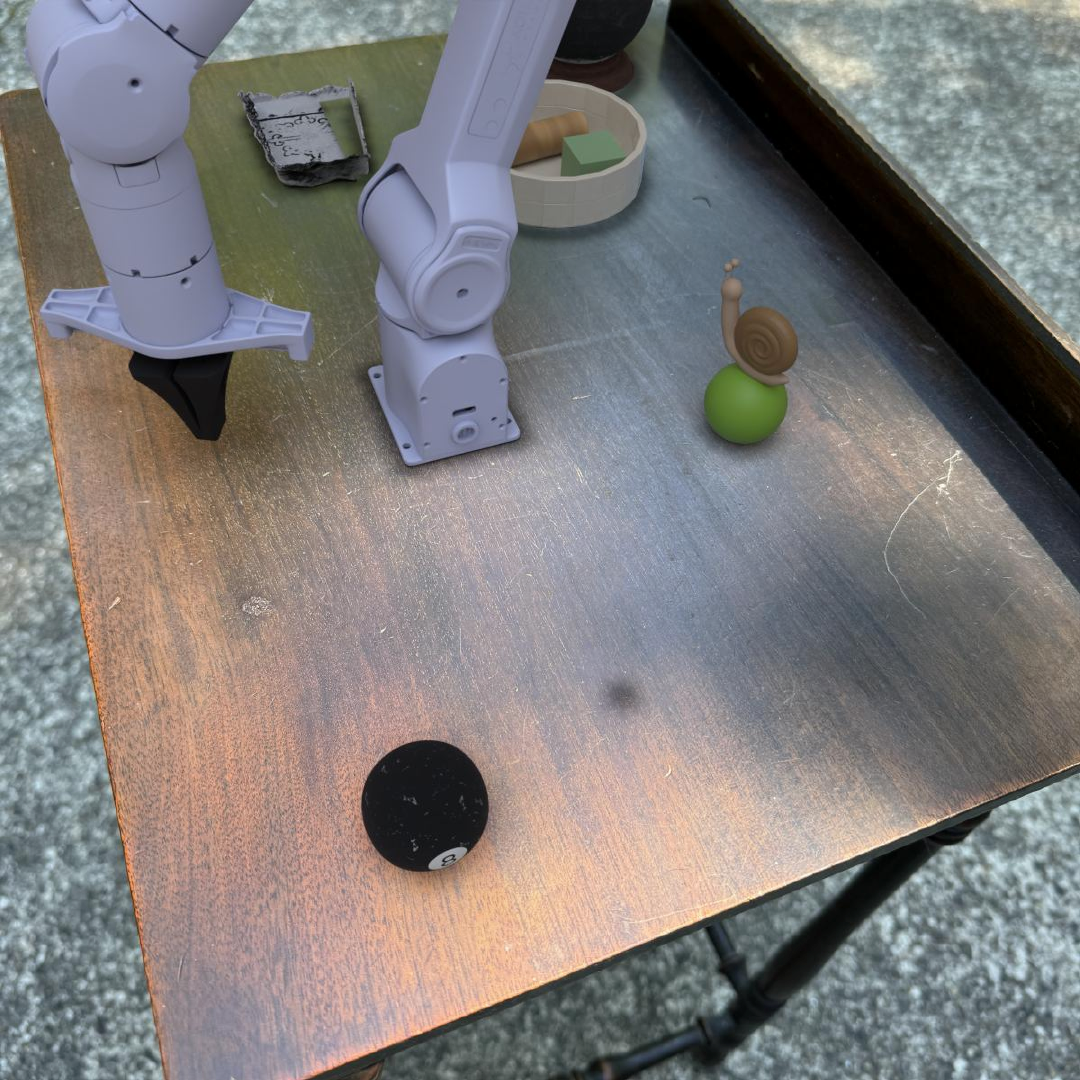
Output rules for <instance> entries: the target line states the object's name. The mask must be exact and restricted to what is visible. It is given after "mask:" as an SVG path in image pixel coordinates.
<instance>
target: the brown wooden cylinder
mask: <svg viewBox="0 0 1080 1080" xmlns="http://www.w3.org/2000/svg"><path fill="white" fill-rule="evenodd" d="M583 134H589V129H588V125H587V121H586V119H585V117H584V115H583V114H582V113H581V112H580V111H573V112H569V113H565V114H561V115H557V116H553V117H550V118H546V119H542V120H538V121H534V122H530V123H528V125H527V127H526V130H525V133H524V135H523V138H522V140H521V143H520V145H519V148H518V150H517V153H516V156H515V158H514V161H513V163H512V166H515V165H519V164H523V163H527V162H530V161H534V160H538V159H542V158H545V157H549V156H553V155H557V154H560V153H562V147H563V138H564V137H570V136H577V135H583ZM512 166H511V167H512Z"/></svg>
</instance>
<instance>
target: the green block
mask: <svg viewBox="0 0 1080 1080" xmlns="http://www.w3.org/2000/svg"><path fill="white" fill-rule="evenodd" d="M626 158H627V156H626V154H625V153H624V152H623V150H622V149H621V147H620V146H619V145H618V143H617V142H616V140H615V139H614V138H613V136H612V135H611V133H610V132H609V131H602V132H596V133H589V134H583V135H577V136H570V137H564V138H563V147H562V161H561V177H574V176H580V175H585V174H590V173H596V172H601V171H603V170H605V169H607V168H610V167H612V166H614V165H617V164H619V163H621V162H622V161H623V160H624V159H626Z"/></svg>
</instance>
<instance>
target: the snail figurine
mask: <svg viewBox="0 0 1080 1080" xmlns="http://www.w3.org/2000/svg"><path fill="white" fill-rule="evenodd" d="M739 265H740V261H739V260H738V258H732V260H730V262H726V263H725V264H724V265H723V269H722V270H723V271H724V272H725V273H724V279H723V281H722V283H721V285H720V294H721V305H720V325H721V326H720V327H721V336H722V340H723V344H724V347H725V349H726V351H727V353H728V355H729V356H730V357H731V358H732V359H733V361H734V362H732V363H730V364H727V365H726V366H724V367H722V368H721V369H719V370H718V371H717V372H716V373H715V374H714V375H713V377H712V378H711V379H710V381H709V382H708V384H707V386H706V389H705V392H704V397H703V410H704V415H705V418H706V420H707V423H708V424H709V426H710V428H711V429H712V430H713V431H714V432H715V433H716V434H717V435H718V436H720V437H721V438H723V440H726V441H728V442H730V443H733V444H734V443H735V444H741V445H748V444H754V443H758V442H761V441H763V440H765V439H767V438H768V437H771V435H773V434H774V433H775V432H776V431H777V430H778V429H779V428H780V427H781V425H782V423H783V421H784V419H785V417H786V414H787V410H788V405H789V403H788V402H789V398H788V392H787V388H786V384H788V383H789V382H790V381H791V380H790V377H788V375H787V374H784V373H785V372H787V371H789V370H790V369H791V368H792V367H793V366H794V364H795V363H796V361H797V358H798V354H799V340H798V336H797V333H796V331H795V328H794V327H793V324H792V323H790V321H789V319H787V317H785V316H784V315H783V314H782V313H781V312H780V311H778V310H775V309H774V308H771V307H768V306H761V305H759V306H753V307H751V308H749V309H747V310H745V311H744V312H742V313H741V315H740V299H741V297H742V296H743V294H744V287H743V284H742V282H741V281H740V280H739V279H737V278H736V277H733V275H734V274H733V273H734V269H735V268H738V267H739ZM728 273H730V277H727V274H728Z"/></svg>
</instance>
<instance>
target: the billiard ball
mask: <svg viewBox="0 0 1080 1080" xmlns="http://www.w3.org/2000/svg"><path fill="white" fill-rule="evenodd" d="M360 806H361V807H360V810H361V811H360V812H361V817H362V823H363V826H364V829H365V832H366V834H367V836H368V837H367V838H368V839H369V841H370V843H371V844H372V846H373V847H374V848H375V850H376V852H378V854H379V855H380V856H381V857H382V858H383V859H384V860H386V861H387V862H388V863H390V864H391V865H393V866H394V867H396V868H398V869H400V870H404V871H408V872H415V873H429V872H435V871H439V870H442V869H444V868H447V867H450V866H452V865H454V864H455V863H457V862H459V861H460V860H461V859H463V858H464V857H466V855H468V854H469V853H470V852H471V851H472V850H474V848H475V847H476V846H477V844H478V843H479V841H480V840H481V838H482V836H483V835H484V833H485V830H486V827H487V824H488V821H489V813H490V812H489V811H490V803H489V794H488V790H487V786H486V783H485V780H484V778H483V775H482V773H481V771H480V770H479V768H478V766H477V765H476V764H475V762H474V761H473V760H472V759H471V758H470V757H469V755H468V754H467V753H465V751H463V750H462V749H460V748H458V747H457V746H455V745H453V744H451V743H449V742H445V741H443V740H435V739H419V740H414V741H411V742H410V741H409V742H407V743H404V744H402V745H399V746H397V747H396V748H394V749H391V750H390V751H389V752H388V753H386V754H385V755H383V756H382V757H381V758H380V759H379V760H378V761H377V762H376V764H375V765H374V766H373V767H372V768H371V769H370V772H369V773H368V775H367V777H366V779H365V781H364V784H363V788H362V791H361V799H360Z"/></svg>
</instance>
